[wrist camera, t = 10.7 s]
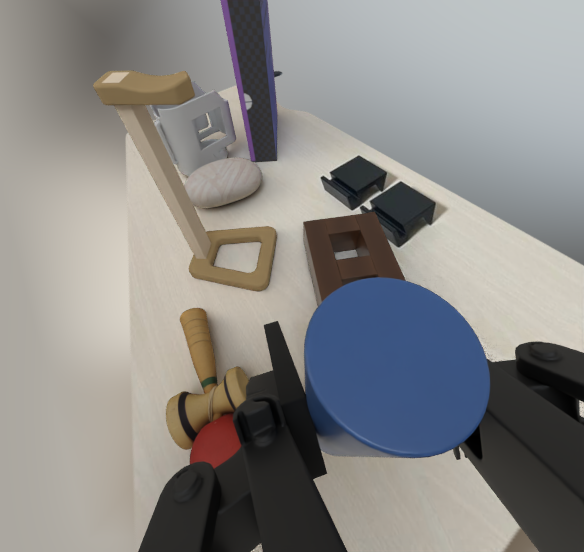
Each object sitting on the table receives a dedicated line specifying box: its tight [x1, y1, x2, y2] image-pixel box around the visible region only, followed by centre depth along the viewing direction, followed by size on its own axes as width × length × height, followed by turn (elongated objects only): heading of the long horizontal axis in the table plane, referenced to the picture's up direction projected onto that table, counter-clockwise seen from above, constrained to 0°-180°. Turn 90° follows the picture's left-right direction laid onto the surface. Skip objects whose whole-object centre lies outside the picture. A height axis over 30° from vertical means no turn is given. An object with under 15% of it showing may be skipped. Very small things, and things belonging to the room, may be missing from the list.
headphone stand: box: [93, 71, 277, 291], centre depth 29 cm, size 10×11×22 cm
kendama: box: [166, 308, 249, 468], centre depth 26 cm, size 8×6×18 cm
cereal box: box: [221, 0, 277, 162], centre depth 46 cm, size 17×5×24 cm, turn 1°
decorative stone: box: [184, 158, 262, 208], centre depth 44 cm, size 13×9×5 cm
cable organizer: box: [150, 81, 236, 176], centre depth 46 cm, size 7×12×12 cm, turn 137°
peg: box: [304, 277, 490, 458], centre depth 10 cm, size 3×3×12 cm
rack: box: [303, 212, 406, 306], centre depth 33 cm, size 10×17×4 cm, turn 8°
